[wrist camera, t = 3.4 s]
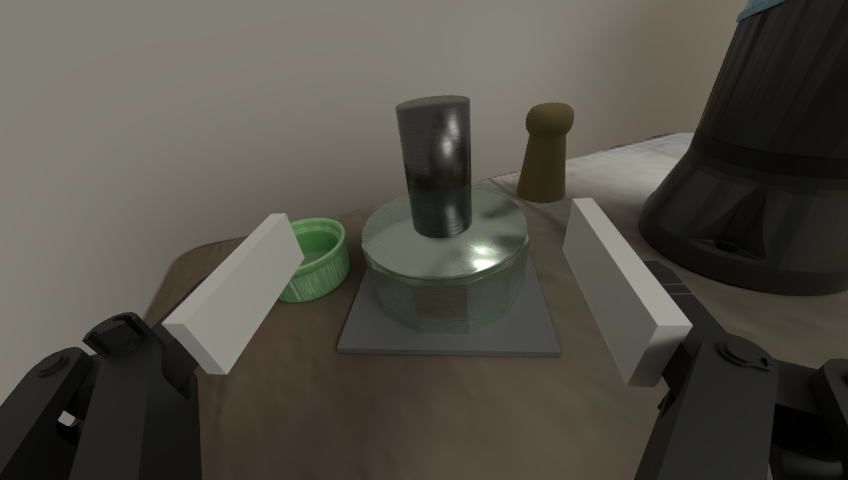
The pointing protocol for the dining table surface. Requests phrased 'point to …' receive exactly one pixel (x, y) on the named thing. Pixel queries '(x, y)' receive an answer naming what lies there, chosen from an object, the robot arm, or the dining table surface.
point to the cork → (545, 153)
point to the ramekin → (317, 260)
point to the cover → (444, 230)
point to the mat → (508, 336)
